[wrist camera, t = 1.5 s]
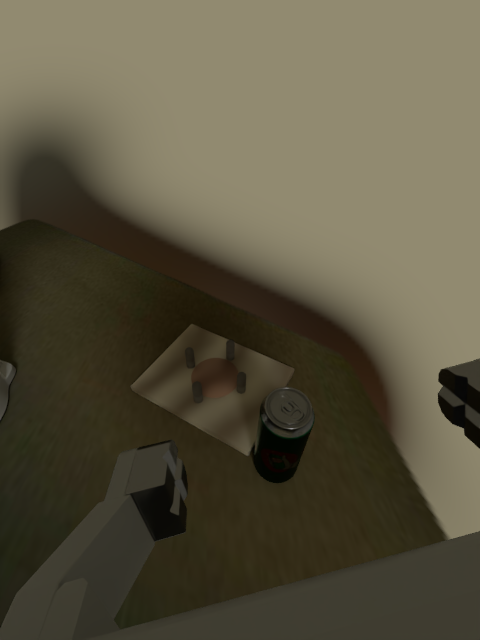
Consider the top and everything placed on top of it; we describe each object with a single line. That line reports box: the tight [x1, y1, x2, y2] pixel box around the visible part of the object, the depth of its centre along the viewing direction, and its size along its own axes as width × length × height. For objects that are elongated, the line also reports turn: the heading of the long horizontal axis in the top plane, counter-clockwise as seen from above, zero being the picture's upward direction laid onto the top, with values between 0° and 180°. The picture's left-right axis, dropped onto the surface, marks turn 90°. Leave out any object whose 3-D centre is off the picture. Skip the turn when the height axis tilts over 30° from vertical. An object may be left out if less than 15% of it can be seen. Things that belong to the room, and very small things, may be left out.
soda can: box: [254, 387, 315, 483], centre depth 33 cm, size 5×5×12 cm
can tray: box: [131, 324, 294, 456], centre depth 43 cm, size 18×14×5 cm
